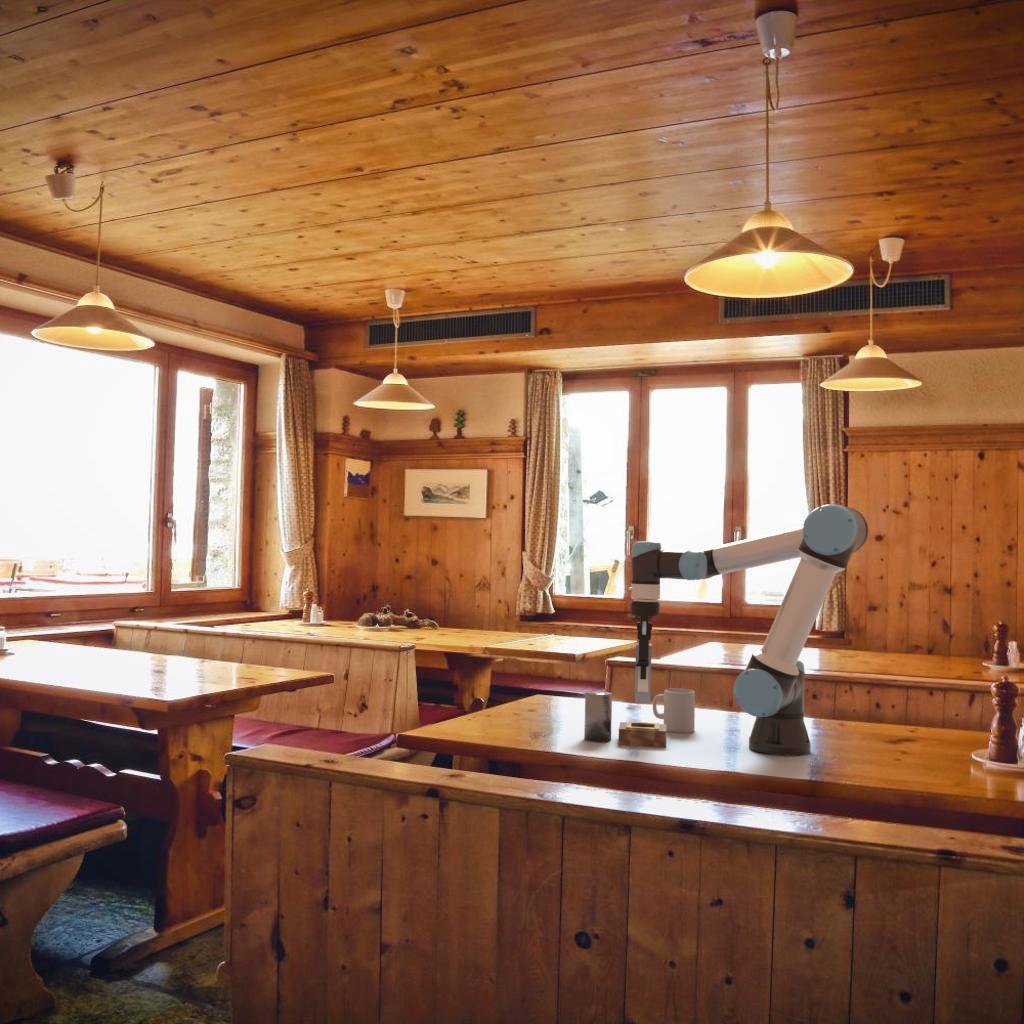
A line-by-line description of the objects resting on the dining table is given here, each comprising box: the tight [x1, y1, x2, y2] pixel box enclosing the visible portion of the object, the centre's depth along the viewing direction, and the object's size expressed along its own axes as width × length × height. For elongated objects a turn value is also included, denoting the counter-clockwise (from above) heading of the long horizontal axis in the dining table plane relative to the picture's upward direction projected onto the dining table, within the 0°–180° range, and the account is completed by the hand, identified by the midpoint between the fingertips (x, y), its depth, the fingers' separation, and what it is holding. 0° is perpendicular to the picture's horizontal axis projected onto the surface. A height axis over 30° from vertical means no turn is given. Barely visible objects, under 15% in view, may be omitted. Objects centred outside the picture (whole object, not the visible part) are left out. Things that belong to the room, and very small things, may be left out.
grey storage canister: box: [583, 690, 613, 743], centre depth 250 cm, size 7×7×12 cm
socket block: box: [618, 720, 667, 748], centre depth 248 cm, size 12×10×4 cm
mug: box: [652, 688, 696, 734], centre depth 267 cm, size 12×8×11 cm
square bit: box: [634, 642, 653, 705], centre depth 249 cm, size 4×4×16 cm
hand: (642, 690), depth 248 cm, fingers closed on square bit, 4 cm apart
